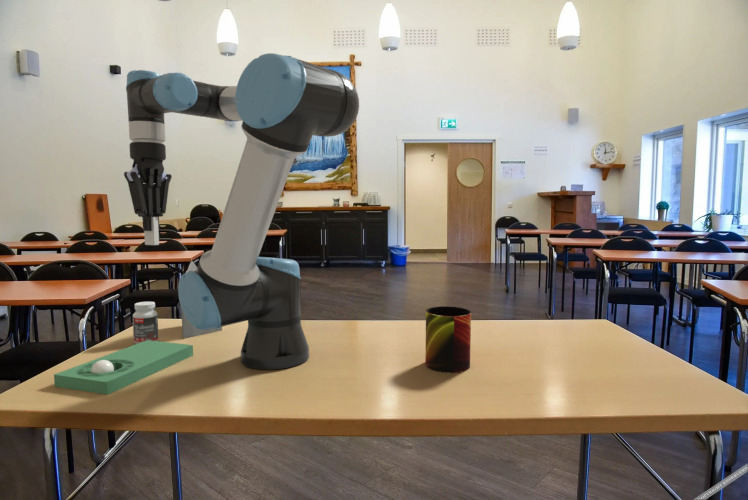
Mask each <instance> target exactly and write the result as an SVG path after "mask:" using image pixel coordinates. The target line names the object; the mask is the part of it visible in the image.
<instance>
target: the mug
mask: <svg viewBox="0 0 748 500" xmlns="http://www.w3.org/2000/svg"><path fill="white" fill-rule="evenodd" d="M471 325H472V311H471V310H469V309H467V308H464V307H459V306H448V305H447V306H446V305H445V306H433V307H429V308H427V309H425V364H424V365H425V367H426V368H427V369H429V370H431V371H434V372H438V373H444V374H457V373H463V372H466V371H468V370H470V368H471V336H472V335H471V332H472V331H471V329H472V326H471Z"/></svg>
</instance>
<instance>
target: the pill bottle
mask: <svg viewBox="0 0 748 500" xmlns="http://www.w3.org/2000/svg"><path fill="white" fill-rule="evenodd" d="M155 308H156V302H155V301H139V302H136V303H134V310H135V312H134V313H133V314H132V328H133V343H134V344H138V343H141V342H144V341H146V340H151V341H158V340H159V320H158V312H157V310H155Z"/></svg>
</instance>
